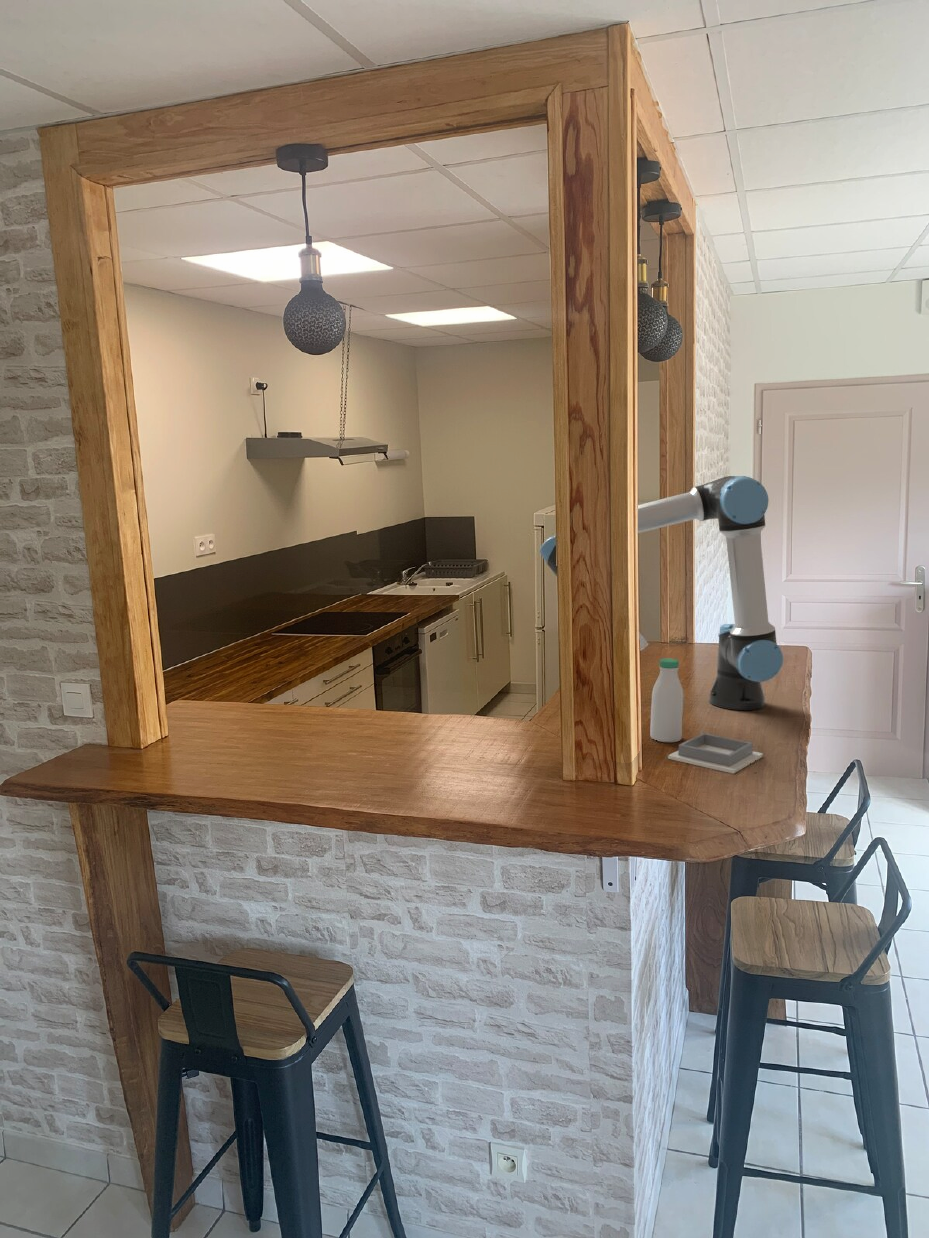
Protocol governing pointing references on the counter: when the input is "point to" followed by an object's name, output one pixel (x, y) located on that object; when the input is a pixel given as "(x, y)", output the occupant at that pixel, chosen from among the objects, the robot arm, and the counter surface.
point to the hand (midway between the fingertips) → (631, 651)
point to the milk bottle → (667, 704)
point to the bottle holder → (716, 753)
